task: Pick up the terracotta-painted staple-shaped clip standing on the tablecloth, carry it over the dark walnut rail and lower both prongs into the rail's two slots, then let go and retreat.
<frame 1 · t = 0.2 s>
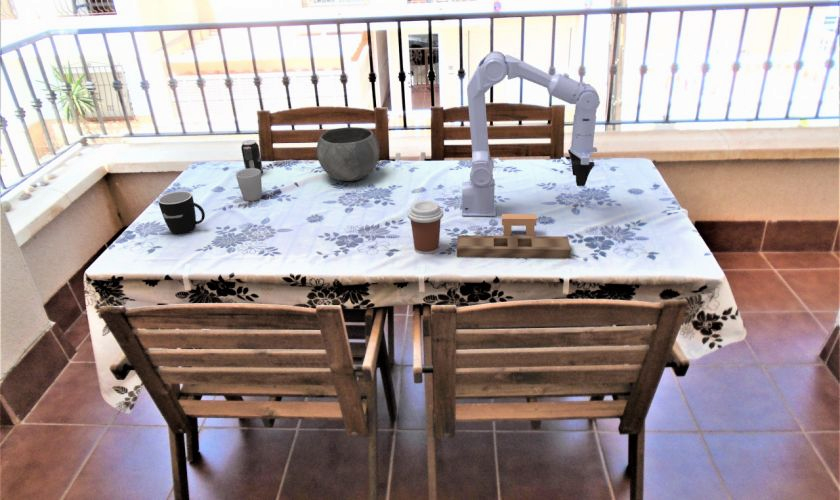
hand: (578, 180, 166), 10 cm above the table, fingers open, 7 cm apart
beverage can: (255, 175, 207), on the table
clip: (518, 233, 161), on the table
bowl: (350, 178, 201), on the table
cup: (254, 196, 190), on the table
coffee cup: (426, 248, 155), on the table
mug: (188, 230, 170), on the table
rail: (512, 251, 152), on the table
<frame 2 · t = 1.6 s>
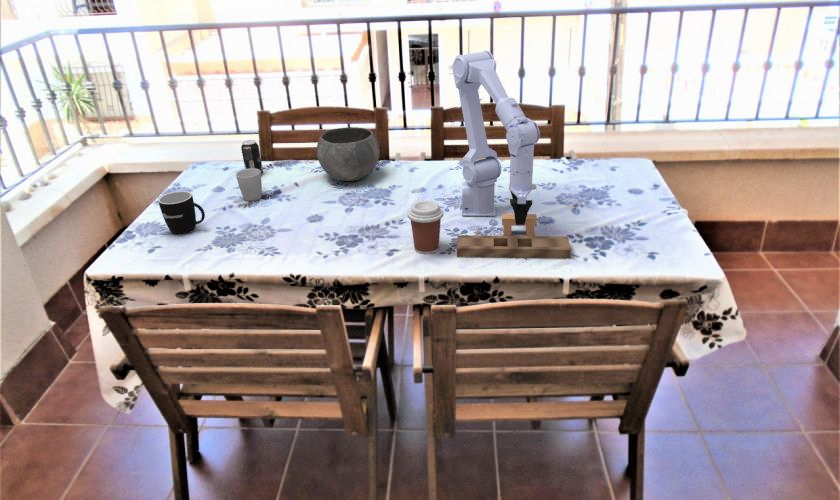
hand: (519, 217, 158), 5 cm above the table, fingers open, 7 cm apart
nothing on the table moved.
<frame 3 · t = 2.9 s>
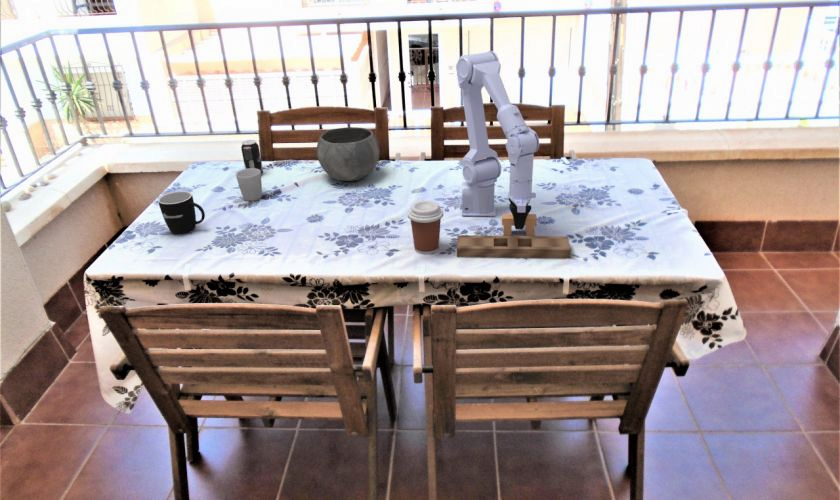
hand: (518, 225, 160), 2 cm above the table, fingers closed on clip, 3 cm apart
clip: (518, 233, 161), on the table, touching gripper
everything else where it was.
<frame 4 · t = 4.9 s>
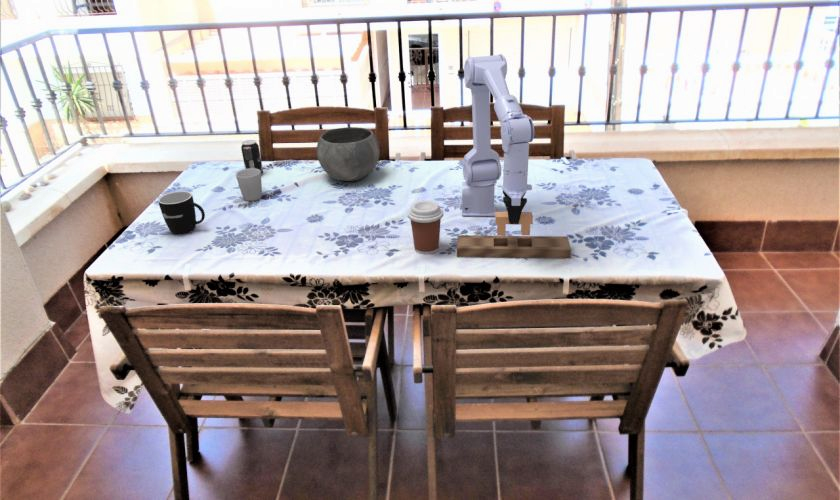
hand: (513, 220, 148), 9 cm above the table, fingers closed on clip, 3 cm apart
clip: (513, 232, 150), point 5 cm above the table, touching gripper
everything else where it was.
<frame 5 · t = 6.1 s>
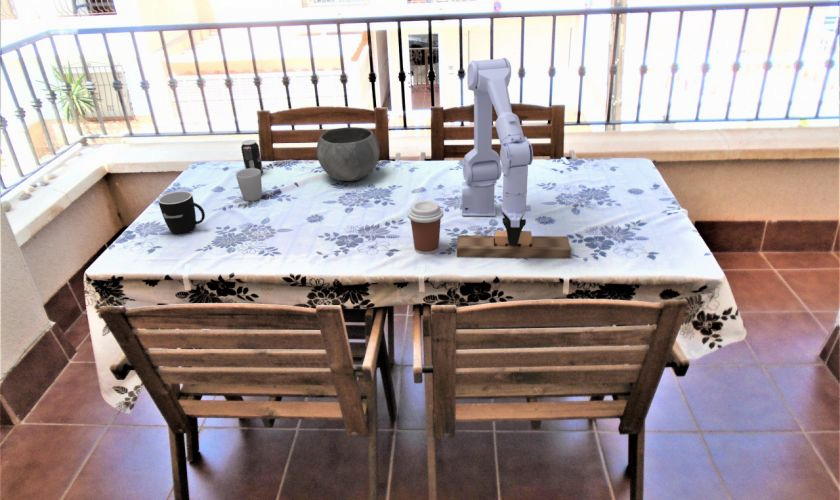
hand: (512, 240, 151), 3 cm above the table, fingers closed on clip, 3 cm apart
clip: (512, 251, 152), resting in rail, touching gripper
everything else where it was.
when the fingers open (3 cm above the table, at t = 6.8 s): clip stays where it is, resting in rail.
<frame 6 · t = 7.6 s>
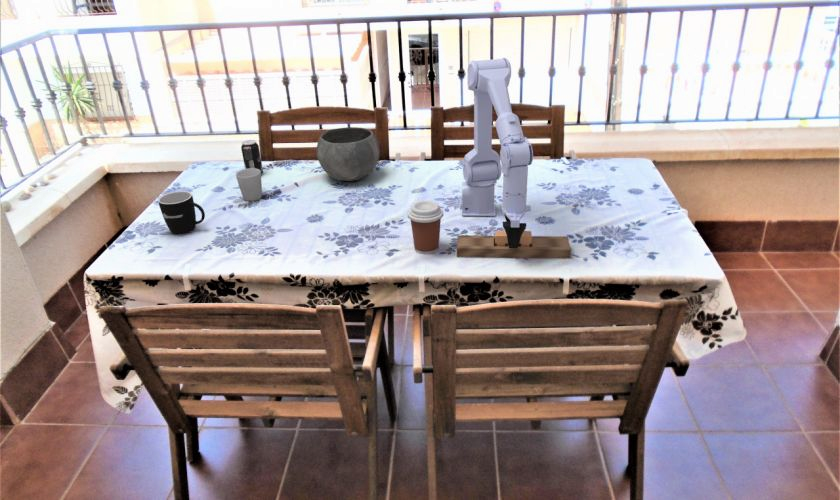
hand: (512, 240, 151), 3 cm above the table, fingers open, 7 cm apart
clip: (512, 251, 152), resting in rail
everything else where it was.
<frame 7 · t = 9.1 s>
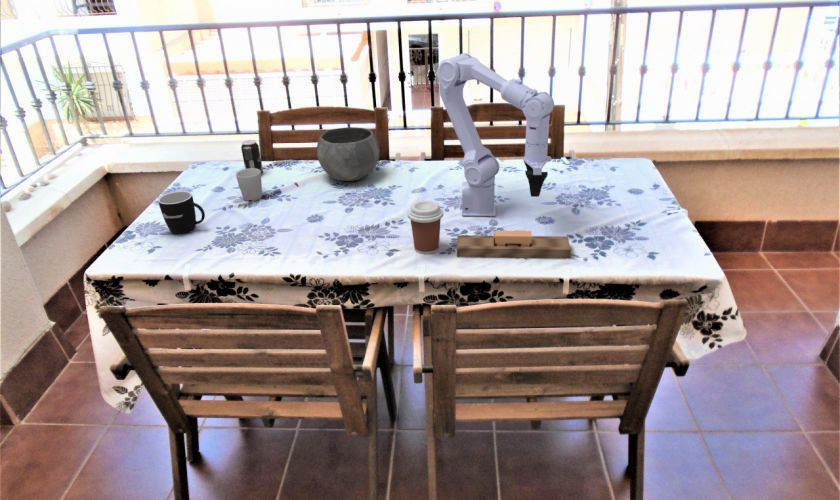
hand: (533, 190, 161), 10 cm above the table, fingers open, 7 cm apart
nothing on the table moved.
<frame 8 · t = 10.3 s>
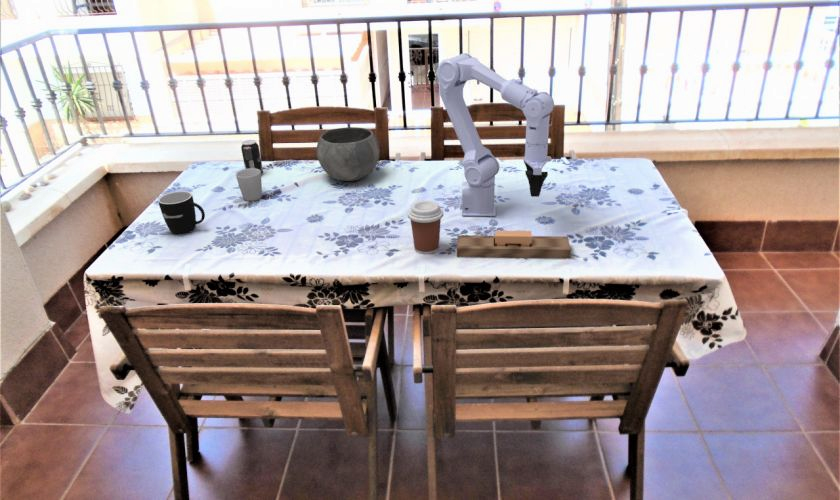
hand: (533, 190, 161), 10 cm above the table, fingers open, 7 cm apart
nothing on the table moved.
at the end: clip 0.1 cm off-centre on the rail, point 0.0 cm above the rail's base; clip tilted 0°; the gripper is holding nothing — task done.
